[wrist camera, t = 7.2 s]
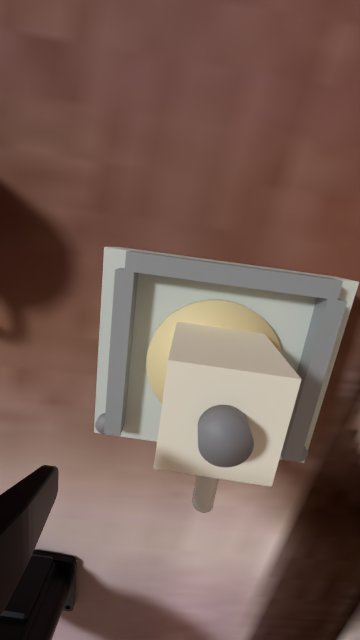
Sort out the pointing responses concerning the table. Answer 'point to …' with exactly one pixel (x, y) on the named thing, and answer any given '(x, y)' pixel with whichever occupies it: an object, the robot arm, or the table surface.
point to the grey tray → (212, 310)
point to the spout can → (224, 408)
